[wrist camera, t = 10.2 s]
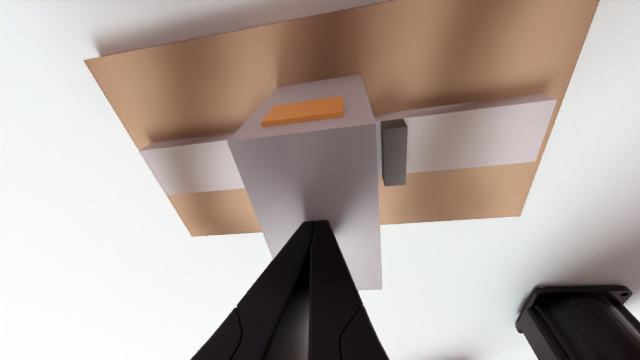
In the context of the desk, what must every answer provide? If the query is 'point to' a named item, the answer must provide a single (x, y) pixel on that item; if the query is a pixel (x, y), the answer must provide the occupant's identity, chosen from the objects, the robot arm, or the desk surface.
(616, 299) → the robot arm
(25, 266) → the desk surface
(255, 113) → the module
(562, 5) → the rail base
